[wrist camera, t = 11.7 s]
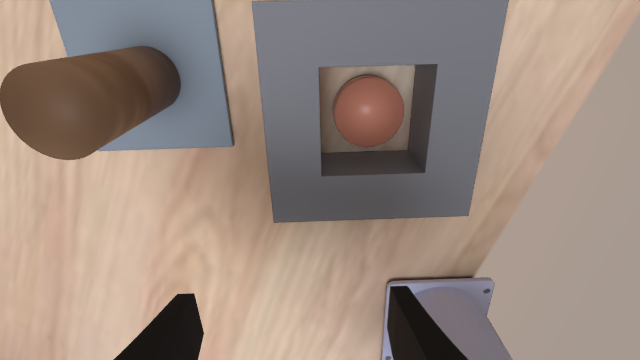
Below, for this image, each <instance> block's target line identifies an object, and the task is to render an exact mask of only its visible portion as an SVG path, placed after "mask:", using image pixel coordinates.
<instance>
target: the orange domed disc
mask: <svg viewBox="0 0 640 360" xmlns="http://www.w3.org/2000/svg"><path fill="white" fill-rule="evenodd" d="M333 111H334V118H335V122H336V125H337V128H338V130H339V132H340V133H341V135H342V136H343V137H344V138H345V139H346V140H347V141H349V142H350V143H352V144H354V145H357V146H362V147H373V146H377V145H380V144H382V143H384V142H386V141H388V140H389V139H390V138H391V137H393V136H394V134H395V133H396V132H397V131H398V129H399V127H400V126H401V123H402V120H403V116H404V104H403V100H402V98H401V95H400V94H399V92H398V91H397V90H396V88H395V87H393V86H392V85H391V84H390V83H389V82H387V81H386V80H384V79H382V78H380V77H378V76H373V75H363V76H359V77H356V78H353V79H352V80H350V81H348V82H347V83H346V84H345V85H344V86H343V87H342V88H341V89H340V91H339V92H338V94H337V96H336V98H335V101H334V109H333Z"/></svg>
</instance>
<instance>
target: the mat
mask: <svg viewBox="0 0 640 360" xmlns="http://www.w3.org/2000/svg"><path fill="white" fill-rule="evenodd" d="M49 1H50V4H51V7H52V10H53V13H54V16H55V19H56V22H57V25H58V28H59V31H60V34H61V37H62V40H63V44H64V47H65V50H66V53H67V56H68V57H73V56H79V55H85V54H92V53H98V52H104V51H111V50H117V49H123V48H130V47H136V46H148V47H152V48H155V49H157V50H159V51H161V52H162V53H164V54H165V55H166V56H168V58H169V59H170V60H171V61H172V62H173V63H174V65H175V66H176V68H177V70H178V73H179V76H180V81H181V89H180V93H179V96H178V98H177V99H176V101H175V102H174V103H173V104H172V105H170V106H169V107H167V108H166V109H164V110H162V111H161V112H159V113H157V114H156V115H154V116H153V117H151V118H149V119H148V120H146V121H144V122H143V123H141V124H139V125H138V126H136V127H134V128H133V129H131V130H129V131H128V132H126V133H125V134H123V135H121V136H120V137H118V138H116V139H115V140H113V141H111V142H110V143H108V144H106V145H105V146H103V147H102V148H100V149H98V151H116V150H147V149H177V148H208V147H233V145H234V142H233V135H232V128H231V121H230V114H229V107H228V100H227V93H226V86H225V79H224V72H223V65H222V58H221V51H220V44H219V37H218V30H217V23H216V16H215V9H214V2H213V0H49Z"/></svg>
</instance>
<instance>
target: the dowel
mask: <svg viewBox="0 0 640 360" xmlns="http://www.w3.org/2000/svg"><path fill="white" fill-rule="evenodd" d="M180 89H181V81H180V76H179V73H178V70H177V68H176V66H175V65H174V63H173V62H172V61H171V60H170V59H169V58H168V56H166V55H165V54H164V53H162V52H161V51H159V50H157V49H155V48H152V47H148V46H136V47H130V48H123V49H117V50H111V51H104V52H98V53H92V54H85V55H79V56H73V57H66V58H60V59H54V60H47V61H41V62H35V63H29V64H24V65H21V66H18V67H16V68H14V69H13V70H12V71H10V72H9V73H8V74H7V76H6V77H5V78H4V80H3V82H2V85H1V88H0V104H1V108H2V111H3V114H4V116H5V119H6V121H7V122H8V124H9V126H10V127H11V128H12V130H13V131H14V132H15V133H16V135H17V136H18V137H19V138H20V139H21V140H22V141H23V142H25V143H26V144H27V145H29V146H30V147H31V148H33V149H35V150H36V151H38V152H40V153H42V154H44V155H47V156H49V157H53V158H56V159H62V160H75V159H80V158H84V157H86V156H88V155H90V154H92V153H93V152H95V151H97V150H98V149H100V148H102V147H103V146H105V145H106V144H108V143H110V142H111V141H113V140H115V139H116V138H118V137H120V136H121V135H123V134H125V133H126V132H128V131H129V130H131V129H133V128H134V127H136V126H138V125H139V124H141V123H143V122H144V121H146V120H148V119H149V118H151V117H153V116H154V115H156V114H157V113H159V112H161V111H162V110H164V109H166V108H167V107H169V106H170V105H172V104H173V103H174V102H175V101H176V99H177V98H178V96H179V93H180Z"/></svg>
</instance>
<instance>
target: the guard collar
mask: <svg viewBox="0 0 640 360" xmlns="http://www.w3.org/2000/svg"><path fill="white" fill-rule="evenodd" d="M508 2H509V0H284V1H252V9H253V19H254V29H255V40H256V50H257V60H258V70H259V80H260V90H261V100H262V110H263V120H264V130H265V140H266V150H267V160H268V170H269V180H270V190H271V200H272V210H273V220H274V223H278V222H307V221H336V220H365V219H394V218H422V217H451V216H469V210H470V205H471V200H472V194H473V189H474V184H475V178H476V173H477V168H478V162H479V157H480V152H481V146H482V141H483V136H484V130H485V125H486V120H487V114H488V109H489V104H490V98H491V93H492V88H493V82H494V77H495V72H496V66H497V61H498V56H499V50H500V45H501V40H502V34H503V29H504V24H505V18H506V13H507V8H508ZM385 65H416V67H415V78H414V89H413V100H412V111H411V122H410V133H409V145H408V150H403V151H373V152H342V153H321V142H320V105H319V67H352V66H385Z"/></svg>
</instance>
